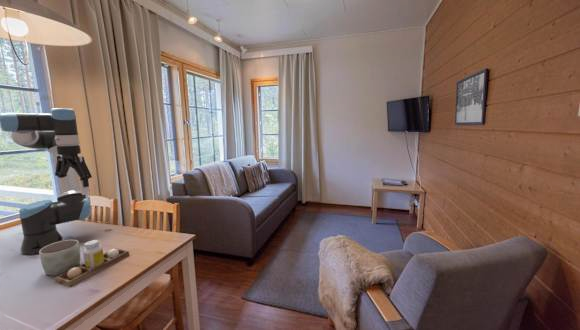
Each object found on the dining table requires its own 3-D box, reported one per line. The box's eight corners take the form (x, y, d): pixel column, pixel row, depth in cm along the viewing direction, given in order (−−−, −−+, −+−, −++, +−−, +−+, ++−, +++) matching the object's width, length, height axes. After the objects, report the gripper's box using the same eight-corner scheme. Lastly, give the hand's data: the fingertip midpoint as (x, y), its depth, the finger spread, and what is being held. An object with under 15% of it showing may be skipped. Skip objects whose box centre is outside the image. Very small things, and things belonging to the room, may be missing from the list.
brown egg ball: (65, 280, 98) (63, 270, 97) (77, 273, 102) (76, 264, 101) (72, 282, 96) (70, 272, 95) (84, 275, 100) (83, 266, 100)
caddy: (55, 283, 96) (54, 277, 96) (116, 252, 119) (115, 248, 118) (70, 288, 94) (69, 282, 93) (129, 255, 116) (128, 251, 116)
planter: (51, 282, 97) (46, 256, 95) (38, 273, 103) (33, 249, 101) (88, 266, 108) (84, 243, 106) (74, 259, 114) (70, 237, 112)
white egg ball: (105, 259, 112) (104, 250, 111) (115, 254, 116) (113, 246, 115) (112, 261, 111) (111, 252, 110) (121, 256, 115) (120, 247, 114)
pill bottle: (108, 262, 110) (104, 238, 108) (98, 271, 103) (94, 245, 101) (92, 263, 109) (89, 239, 107) (81, 272, 103) (77, 246, 101)
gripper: (39, 145, 106) (47, 192, 109) (77, 146, 98) (85, 197, 101) (60, 143, 113) (67, 188, 116) (97, 145, 105) (104, 192, 108)
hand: (75, 192), depth 109 cm, fingers open, 13 cm apart
